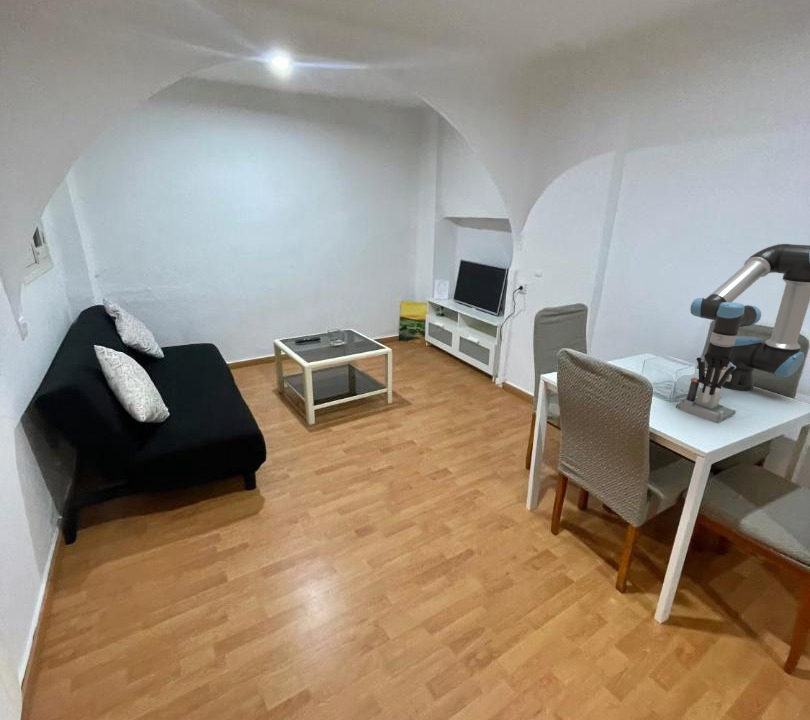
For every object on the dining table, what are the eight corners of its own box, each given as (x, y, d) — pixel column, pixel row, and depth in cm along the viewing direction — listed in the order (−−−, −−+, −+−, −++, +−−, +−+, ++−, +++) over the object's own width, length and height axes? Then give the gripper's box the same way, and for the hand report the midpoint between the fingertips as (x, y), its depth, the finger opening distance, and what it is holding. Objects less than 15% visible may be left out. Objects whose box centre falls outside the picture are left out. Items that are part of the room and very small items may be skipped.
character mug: (728, 397, 188) (736, 369, 184) (721, 401, 184) (730, 372, 180) (700, 388, 196) (708, 362, 192) (694, 392, 193) (701, 365, 188)
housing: (702, 399, 181) (707, 380, 178) (718, 405, 176) (723, 385, 173) (695, 403, 178) (700, 383, 175) (711, 408, 173) (716, 388, 170)
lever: (687, 401, 176) (693, 377, 172) (695, 404, 173) (702, 380, 170) (683, 403, 174) (689, 379, 170) (691, 406, 171) (698, 381, 168)
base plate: (692, 399, 185) (694, 390, 184) (734, 414, 173) (737, 404, 171) (675, 407, 177) (677, 397, 176) (718, 423, 165) (721, 413, 163)
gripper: (697, 341, 164) (683, 397, 172) (737, 350, 153) (720, 409, 161) (706, 338, 168) (692, 393, 176) (746, 347, 157) (728, 405, 165)
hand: (705, 401), depth 168 cm, fingers closed
